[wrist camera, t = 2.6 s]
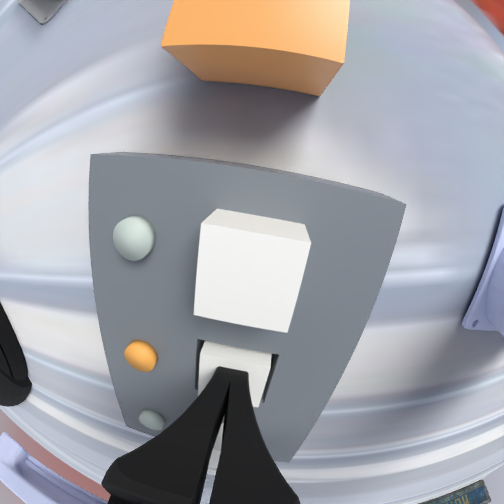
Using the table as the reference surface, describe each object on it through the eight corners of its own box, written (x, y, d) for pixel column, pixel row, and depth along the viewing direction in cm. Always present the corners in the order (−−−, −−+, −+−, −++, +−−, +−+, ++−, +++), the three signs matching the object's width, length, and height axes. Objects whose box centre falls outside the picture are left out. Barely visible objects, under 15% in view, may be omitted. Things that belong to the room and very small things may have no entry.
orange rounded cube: (331, 6, 8) (351, -48, 4) (320, 96, 10) (343, 63, 5) (223, -6, 8) (198, -60, 4) (202, 80, 10) (160, 46, 6)
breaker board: (382, 193, 11) (433, 217, 7) (289, 436, 17) (288, 484, 13) (122, 152, 11) (57, 158, 7) (138, 403, 18) (116, 445, 13)
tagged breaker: (273, 326, 13) (270, 367, 11) (262, 367, 15) (258, 407, 12) (214, 315, 14) (200, 353, 11) (210, 357, 15) (197, 395, 12)
